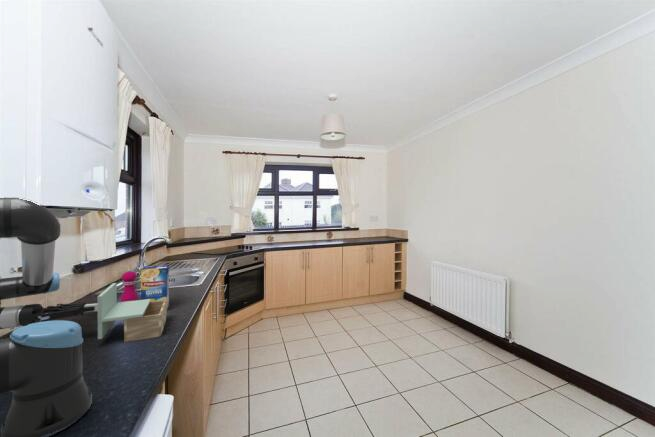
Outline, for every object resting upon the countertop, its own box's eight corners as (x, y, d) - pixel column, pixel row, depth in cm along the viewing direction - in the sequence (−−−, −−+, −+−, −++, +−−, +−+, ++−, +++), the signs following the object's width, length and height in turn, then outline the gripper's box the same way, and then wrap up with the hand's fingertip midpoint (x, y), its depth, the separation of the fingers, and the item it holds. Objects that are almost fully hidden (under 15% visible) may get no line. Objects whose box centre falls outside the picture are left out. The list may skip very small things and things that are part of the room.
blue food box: (167, 311, 130) (167, 267, 130) (140, 314, 126) (140, 269, 125) (169, 306, 137) (168, 265, 136) (143, 309, 132) (143, 266, 131)
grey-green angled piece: (142, 332, 102) (142, 292, 101) (97, 339, 96) (97, 296, 95) (151, 314, 119) (150, 279, 118) (113, 319, 113) (113, 283, 112)
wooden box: (161, 336, 105) (161, 314, 105) (124, 342, 100) (124, 319, 99) (166, 319, 121) (166, 300, 121) (135, 323, 116) (134, 303, 115)
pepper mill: (123, 305, 137) (123, 267, 136) (139, 303, 139) (139, 266, 139) (118, 310, 130) (117, 270, 129) (135, 308, 133) (135, 269, 132)
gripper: (33, 318, 100) (111, 309, 111) (11, 333, 88) (100, 321, 99) (33, 299, 100) (110, 292, 110) (11, 312, 88) (100, 302, 99)
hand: (105, 306), depth 105 cm, fingers closed
